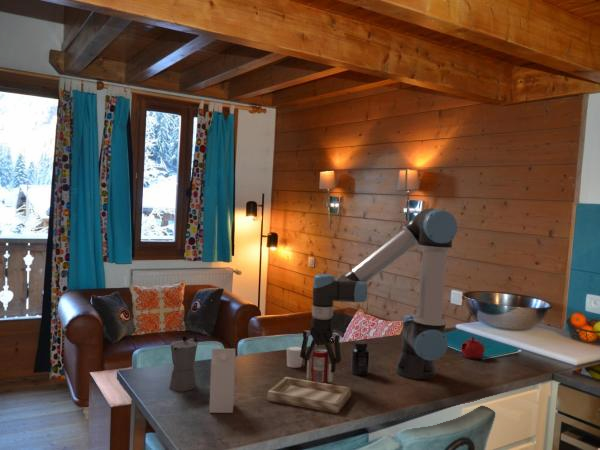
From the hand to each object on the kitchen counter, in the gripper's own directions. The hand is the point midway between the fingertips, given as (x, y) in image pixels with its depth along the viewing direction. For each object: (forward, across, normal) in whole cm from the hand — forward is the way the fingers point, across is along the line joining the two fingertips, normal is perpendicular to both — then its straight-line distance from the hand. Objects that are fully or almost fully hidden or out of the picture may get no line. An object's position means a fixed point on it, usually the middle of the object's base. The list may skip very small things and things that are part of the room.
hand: (319, 379), depth 194 cm
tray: (+1, +2, -16) cm, 17 cm away
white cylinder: (+1, -15, +14) cm, 21 cm away
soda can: (+1, 0, 0) cm, 1 cm away
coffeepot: (+1, -41, -25) cm, 48 cm away
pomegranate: (+1, +51, +62) cm, 80 cm away
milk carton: (+1, -20, -37) cm, 42 cm away
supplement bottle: (+1, +11, +17) cm, 20 cm away
